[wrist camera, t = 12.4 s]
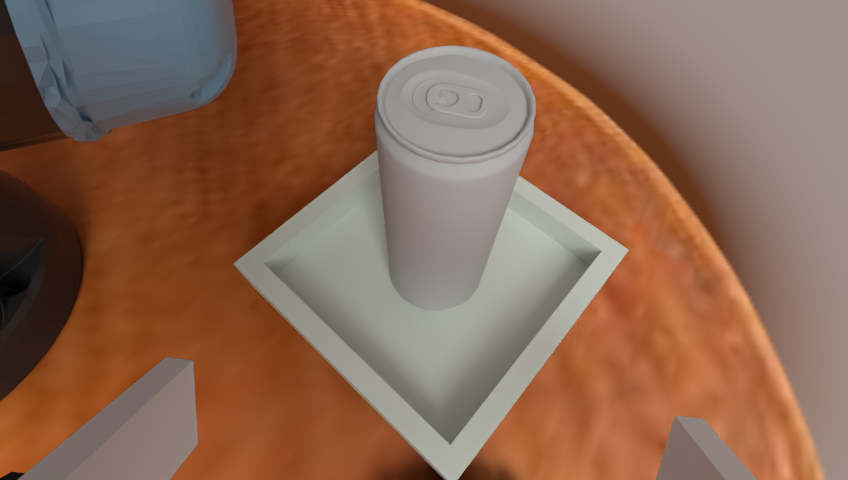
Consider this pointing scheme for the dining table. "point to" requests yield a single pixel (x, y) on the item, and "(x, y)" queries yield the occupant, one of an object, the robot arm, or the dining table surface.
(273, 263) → the tray
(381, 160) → the beverage can
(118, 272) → the dining table surface
